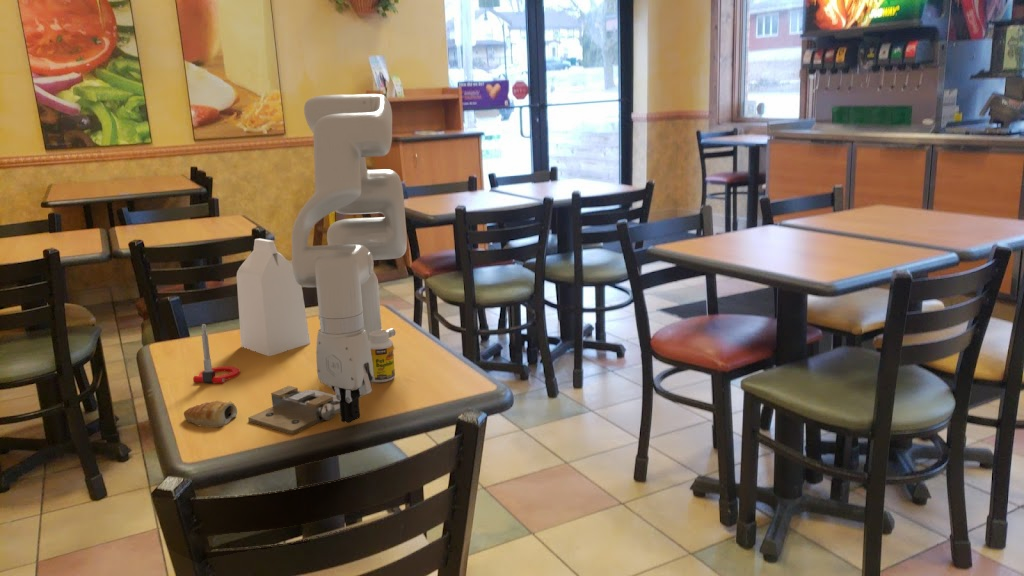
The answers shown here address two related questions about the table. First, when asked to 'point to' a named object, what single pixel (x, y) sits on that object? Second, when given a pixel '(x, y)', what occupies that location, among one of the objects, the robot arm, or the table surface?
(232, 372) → the tow hook
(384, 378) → the supplement bottle
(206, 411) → the pastry
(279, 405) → the hinge leaves
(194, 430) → the table surface
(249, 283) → the milk
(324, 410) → the pin
